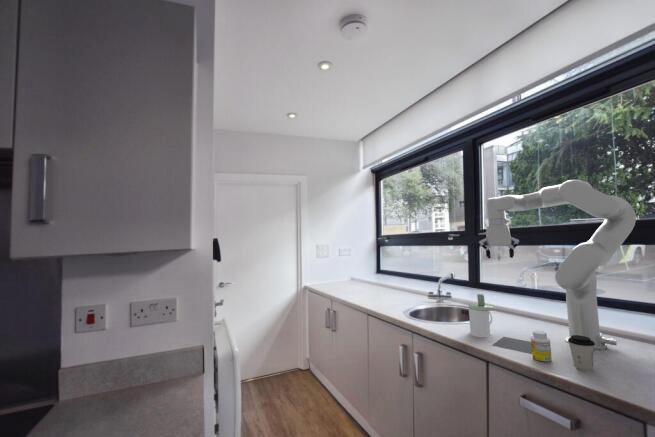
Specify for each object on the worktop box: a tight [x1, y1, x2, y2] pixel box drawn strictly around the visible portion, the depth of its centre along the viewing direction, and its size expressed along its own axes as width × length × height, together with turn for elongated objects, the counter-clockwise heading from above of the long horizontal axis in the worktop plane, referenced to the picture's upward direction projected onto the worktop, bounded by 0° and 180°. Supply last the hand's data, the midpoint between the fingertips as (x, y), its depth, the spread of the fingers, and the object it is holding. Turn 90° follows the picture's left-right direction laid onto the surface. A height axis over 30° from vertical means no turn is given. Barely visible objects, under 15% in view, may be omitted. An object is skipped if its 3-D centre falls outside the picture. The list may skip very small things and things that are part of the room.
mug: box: [468, 308, 493, 338], centre depth 138 cm, size 12×8×12 cm
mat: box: [491, 336, 532, 355], centre depth 123 cm, size 14×14×1 cm
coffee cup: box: [568, 335, 595, 373], centre depth 101 cm, size 7×7×10 cm
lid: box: [467, 293, 496, 312], centre depth 139 cm, size 11×11×6 cm
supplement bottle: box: [530, 330, 553, 364], centre depth 108 cm, size 6×6×10 cm
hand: (500, 257), depth 149 cm, fingers open, 9 cm apart
